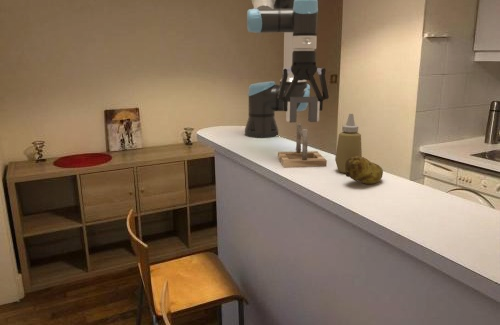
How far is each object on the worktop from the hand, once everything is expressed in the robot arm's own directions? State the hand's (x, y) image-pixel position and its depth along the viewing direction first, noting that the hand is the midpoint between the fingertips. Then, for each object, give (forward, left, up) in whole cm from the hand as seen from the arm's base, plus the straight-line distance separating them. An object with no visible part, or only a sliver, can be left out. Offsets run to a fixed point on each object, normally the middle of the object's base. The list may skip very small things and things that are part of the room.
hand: (302, 120), depth 136 cm
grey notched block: (0, 0, 0) cm, 0 cm away
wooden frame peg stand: (0, 0, -14) cm, 14 cm away
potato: (+25, +13, -14) cm, 31 cm away
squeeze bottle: (+13, +12, -14) cm, 23 cm away
